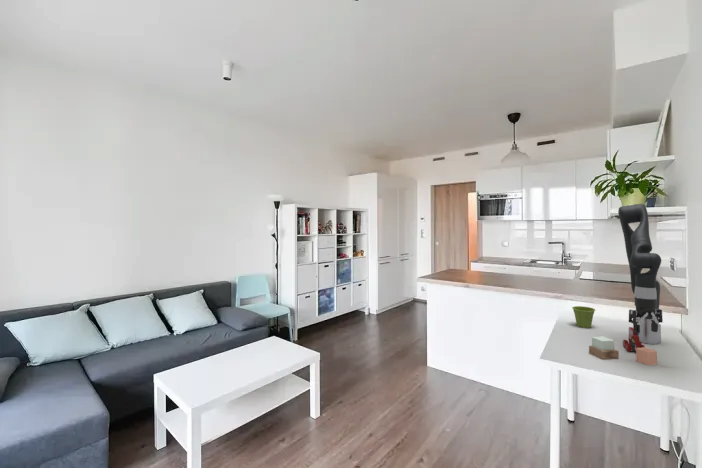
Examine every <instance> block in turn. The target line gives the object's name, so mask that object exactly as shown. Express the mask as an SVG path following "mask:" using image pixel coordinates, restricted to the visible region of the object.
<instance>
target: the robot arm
mask: <svg viewBox="0 0 702 468" xmlns="http://www.w3.org/2000/svg"><path fill="white" fill-rule="evenodd" d="M617 211H618V218H619V222H620V225H621V229H622V233H623V234H622V235H623V239H624V245H625V252H626V256H627V262H628V266H629V267H628V268H629V273H630V285H631V291H632V293H633V294H634V306H635V309H629V310H628V323H631V324H632V325H633V330H634V332H636V333H639V335H638V336H639V340H640V342H641V343H642V344H643V343H644V344H649V345H658V344H660V343H661V342H662V327H661V326H662V325H661V323H664V321H663V310H662V309H661V308H660V299H661V298H660V296H661V285H660V284H661V283H660V282H659V281H658V280H657V275H658V272H659V269H660V267H661V264H662V258H661V256H660V255H659V254H658V253H655V252H652V251H653V244H652V241H651V237H650V224H649V215H648V210H647V207H646V205H645V204H644V203H636V204H629V205H624V206H620V207H619V208H618V210H617ZM634 223H636V224H637V223H639V224H638V225H637V227H636V228H635V229H632V227H631V226H630V225H629V224H634ZM643 269H648V271H646V272H642V271H643Z"/></svg>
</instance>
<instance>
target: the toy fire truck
mask: <svg viewBox="0 0 702 468" xmlns="http://www.w3.org/2000/svg"><path fill="white" fill-rule="evenodd" d="M638 335H639V333H636V332H634V330H633V327H632V326H629V327H628V339H623V340H622V346H623V348H625V351H626V352H631V351H635V352H636V348H644V347H645V345H644V344H643V342H640V340H639V336H638Z"/></svg>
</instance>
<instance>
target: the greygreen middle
mask: <svg viewBox="0 0 702 468" xmlns="http://www.w3.org/2000/svg"><path fill="white" fill-rule="evenodd" d="M591 346H593V347H595V348H598V349H600V350H602V351H605V350H614V349H615V340H614V339H611V338H608V337H606V336H603V335H602V336H592V337H591Z"/></svg>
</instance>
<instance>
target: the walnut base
mask: <svg viewBox="0 0 702 468" xmlns="http://www.w3.org/2000/svg"><path fill="white" fill-rule="evenodd" d="M619 353H620V352H619V350H617V349H615V348H614V350H605V351H602V350H600V349H598V348H595V347H593V346H592V345H589V346H588V354H590V355H592V356H594V357H596V358H598V359H601V360H604V361H605V360H616V359H618V360H619V357H620V356H619Z"/></svg>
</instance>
